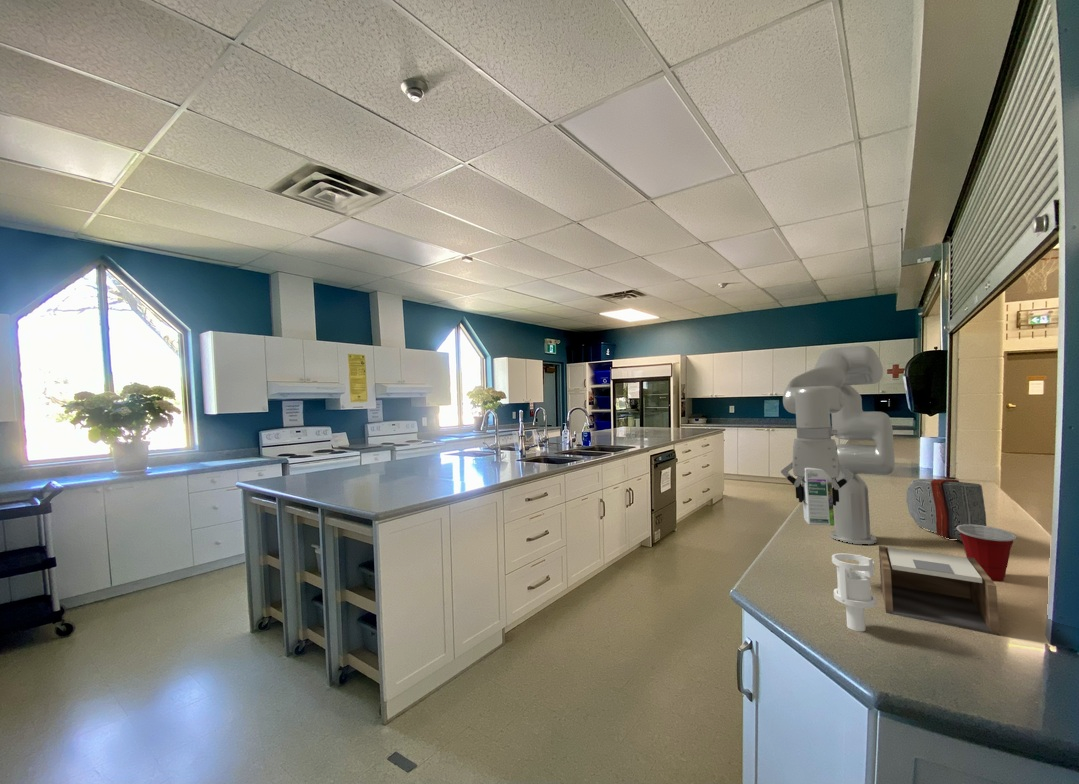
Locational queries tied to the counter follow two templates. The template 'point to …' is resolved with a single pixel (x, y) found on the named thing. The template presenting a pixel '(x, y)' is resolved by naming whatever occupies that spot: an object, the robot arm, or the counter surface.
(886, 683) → the counter surface
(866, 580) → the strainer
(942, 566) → the trapdoor
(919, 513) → the decorative stone tablet
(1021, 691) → the counter surface
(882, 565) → the trapdoor frame
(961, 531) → the plastic cup
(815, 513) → the syrup box
